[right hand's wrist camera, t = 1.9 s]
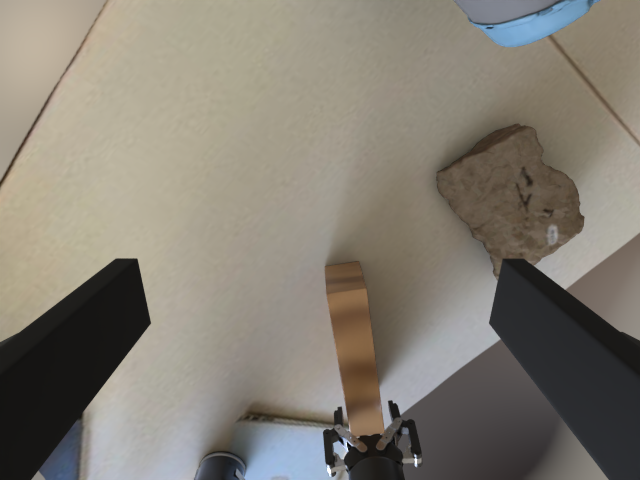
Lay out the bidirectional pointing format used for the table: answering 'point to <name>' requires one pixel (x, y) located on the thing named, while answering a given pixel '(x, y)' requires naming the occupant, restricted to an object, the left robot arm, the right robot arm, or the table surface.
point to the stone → (512, 197)
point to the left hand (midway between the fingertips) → (365, 407)
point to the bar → (354, 347)
